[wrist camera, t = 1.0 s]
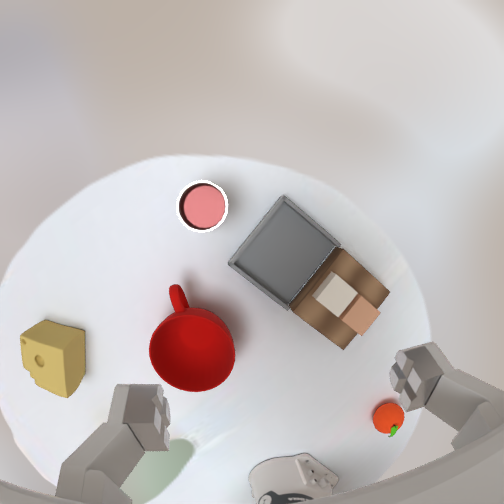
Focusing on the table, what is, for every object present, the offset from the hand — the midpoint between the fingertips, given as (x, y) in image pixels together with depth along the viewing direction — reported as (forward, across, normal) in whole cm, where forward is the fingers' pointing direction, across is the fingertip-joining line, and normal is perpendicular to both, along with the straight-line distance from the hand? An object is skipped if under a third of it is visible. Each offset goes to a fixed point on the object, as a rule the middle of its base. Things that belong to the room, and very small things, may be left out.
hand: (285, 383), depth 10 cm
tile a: (+34, +15, -22) cm, 43 cm away
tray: (+40, +8, -17) cm, 44 cm away
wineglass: (+44, -4, -9) cm, 45 cm away
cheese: (+37, -36, -31) cm, 60 cm away
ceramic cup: (+37, -8, -27) cm, 47 cm away
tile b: (+32, +19, -25) cm, 45 cm away
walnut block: (+37, +17, -25) cm, 48 cm away
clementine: (+27, +29, -52) cm, 65 cm away
